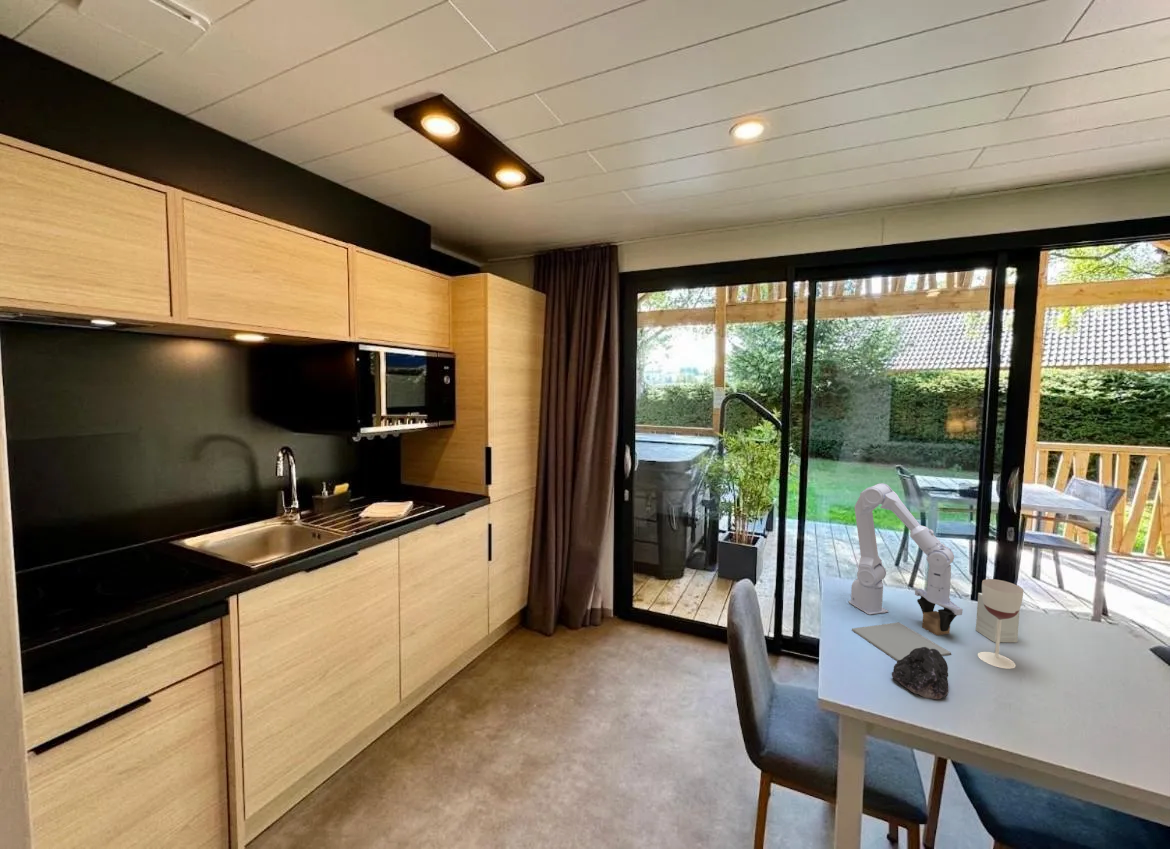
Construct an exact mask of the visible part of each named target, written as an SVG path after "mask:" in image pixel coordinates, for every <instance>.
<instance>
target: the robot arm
mask: <svg viewBox="0 0 1170 849" xmlns="http://www.w3.org/2000/svg"><path fill="white" fill-rule="evenodd" d="M880 505H881V506H880ZM879 506H880V508H881V509H884V510H889V511H891V512H892V513H893V514H894V515H895V516H896V517H897V518H898V519H899V520H900V521H901V522H902V524H903V525H905V526H906V528H907V529H908V530H909V532H910V534H909V536H910V538H911V539H912V540H913V541H914V542H915V544H916V546H918V547H919V548H920V550H921V551H922V552H923V554H925V555H926V561H927V563H928V572H927V574H928V575H927V577H928V578H927V590H924V589H923V588H915V590H914V595H915V596H917V597H920V598H918V599H917V602H916V603H918V605H919V607H920V610H921V612H922V614H923V613H924V612H932V611H935V610H934V609H935V607H936V605H937V606H939V607H942V608H940V609H937V612H939V616H940V629H941V631H943V632H944V631H948V629H949V626H950V627H951V624H952V622H953V620H954V619H955V618H956V617H957V616H962V615H963V610H964V609H963V608H962V607H960V606H958V605H957V604H955V603H954V602H953V601H951V598H950V594H951V593H950V591H951V579H952V572H951V571H952V565H951V564H952V563H953V562H954V559H955V555H954V552H953V551H952V549H951V548H949V547H948V546H946V545H945V543H942V542H941V541H940V540H939V539H938V538H937V536H935V534H934V533H935V531H934V530H933V529H930V528H929V527H928V526H924V525H921V524H920V523H919V522H918V520H917V519H916V518H915V516H914V515H913V514H912V513H911V511H910V510H909V509H908V508H907V506H906V505H905V504H904V502H903V501H902V500H901V499H900V497H899V495H898V493H896V492H895V491H894V490H893V489H892V488H891V487H890V485H888V484H887V483H883V482H880V483H876V484H874V485H872V486H868V487H866V488H865V489H864V490H863V491H861V492H860V493H859V497H858V499H857V501H856V503H855V504H854V513H855V520H856V528H857V537H858V544H859V545H858V546H859V553H860V559H859V562H858V571H857V573H856V577H857V578H856V579H855V580H854V581H853V582H852V584H851V592H850V594H851V595H850V600H849V601H848V603H849V604H850V605H853V606H854V607H856V608H858V609H859V611H860V610H861V612H864V613H866V614H867V615H870V616H871V615H878V614H885V613H889V610H888V609H886V608H884V607H883V596H884V595H883V594H884V583H883V580H884V579H886V576H887V570H886V568H885V567H884V565H883V562H882V558H880V556H879V552H878V545H877V544H878V543H877V536H876V530H875V523H874V522H875V521H874V515H873V514H874V513H873V511H874V510H875V509H876V508H877V507H879Z"/></svg>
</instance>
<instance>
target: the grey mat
mask: <svg viewBox="0 0 1170 849" xmlns="http://www.w3.org/2000/svg"><path fill="white" fill-rule="evenodd" d="M851 631H852V632H853V633H855V634H856V635H857V636H860V638H863V639H864V640H865V641H867V642H868V643H870V644H871V645H873V646H874V647H876V648H877V649H879V650H880V651H882V652H883V653H884V654H886V655H888V656H889V657H890V658H892V659H893V660H894V661H896V662H897V661H898V660H901V659H903V658H904V657H905V656H907V655H909V654H910V652H911V651H912V650H914V649H916V648H921V647H927V648H929V649H936V650H938V651H939V652H940V654H941V655H942V657H945V656H952V652H951V651H950V650H948V649H946V648H944V647H942V646H940V645H939V644H937V643H935V642H933V641H932V640H930V639H928V638H927V637H925V636H924V635H922V634H920V633H919V632H916V631H915V630H913V629H912V628H909V627H908V626H906V625H904V624H903V623H901V622H900V621H898V622H897V621H896V622H891V623H884V624H877V625H868V626H862V627H854V628H851Z"/></svg>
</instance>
